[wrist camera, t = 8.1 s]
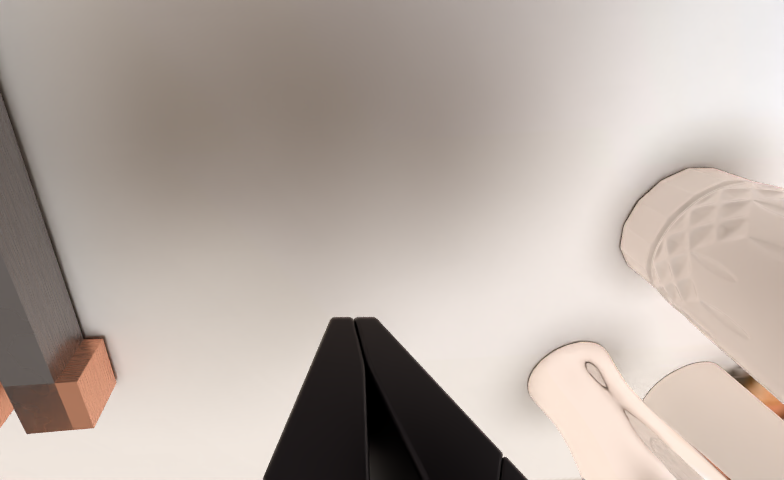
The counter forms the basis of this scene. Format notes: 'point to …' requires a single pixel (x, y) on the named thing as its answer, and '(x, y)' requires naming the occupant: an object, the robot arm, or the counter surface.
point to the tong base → (4, 406)
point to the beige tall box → (722, 420)
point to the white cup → (717, 262)
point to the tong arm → (41, 315)
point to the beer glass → (611, 421)
